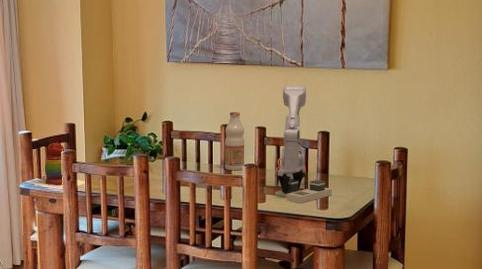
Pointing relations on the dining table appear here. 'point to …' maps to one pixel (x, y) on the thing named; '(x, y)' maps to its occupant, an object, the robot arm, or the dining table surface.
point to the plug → (292, 186)
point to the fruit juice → (234, 143)
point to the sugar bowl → (282, 165)
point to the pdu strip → (308, 195)
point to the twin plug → (317, 185)
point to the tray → (281, 193)
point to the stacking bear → (54, 164)
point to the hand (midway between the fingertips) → (290, 190)
